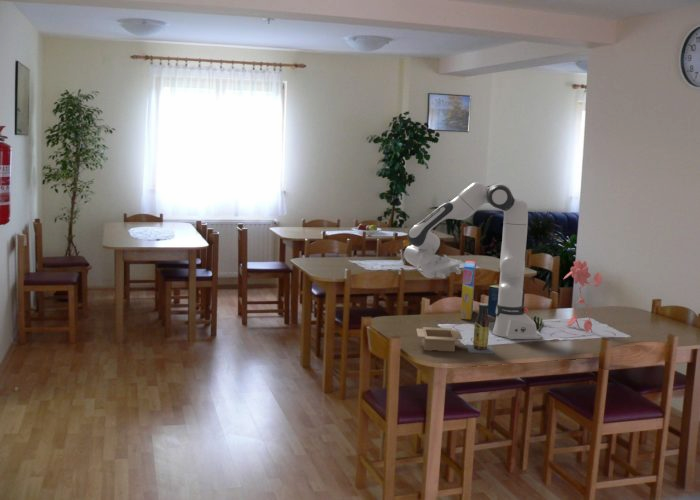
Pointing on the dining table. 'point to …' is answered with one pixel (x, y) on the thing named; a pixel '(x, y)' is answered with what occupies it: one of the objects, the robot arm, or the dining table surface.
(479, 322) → the sauce bottle
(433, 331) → the carton
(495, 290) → the protein box
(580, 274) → the pink blossom sprig
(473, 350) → the mat
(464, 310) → the game box
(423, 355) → the dining table surface
